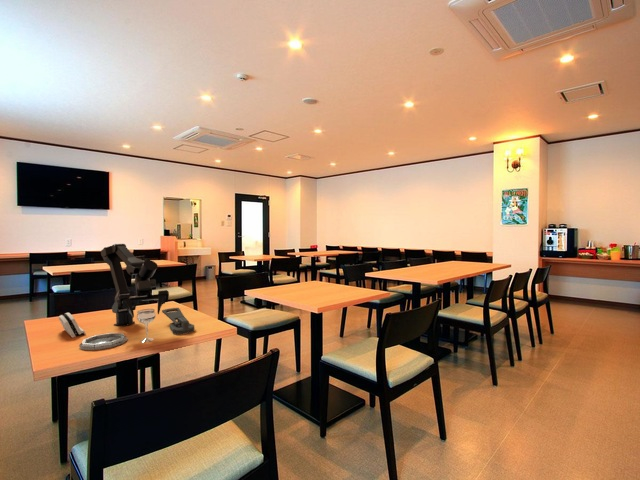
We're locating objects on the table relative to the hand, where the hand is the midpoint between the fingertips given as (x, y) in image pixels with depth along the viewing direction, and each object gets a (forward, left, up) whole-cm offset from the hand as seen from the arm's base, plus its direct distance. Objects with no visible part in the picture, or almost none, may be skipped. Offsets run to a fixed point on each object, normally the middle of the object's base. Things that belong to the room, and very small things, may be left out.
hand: (146, 315), depth 141 cm
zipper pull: (+2, +17, -10) cm, 20 cm away
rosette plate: (-12, -9, -10) cm, 18 cm away
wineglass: (+2, -2, -10) cm, 10 cm away
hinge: (-39, 0, -10) cm, 40 cm away
